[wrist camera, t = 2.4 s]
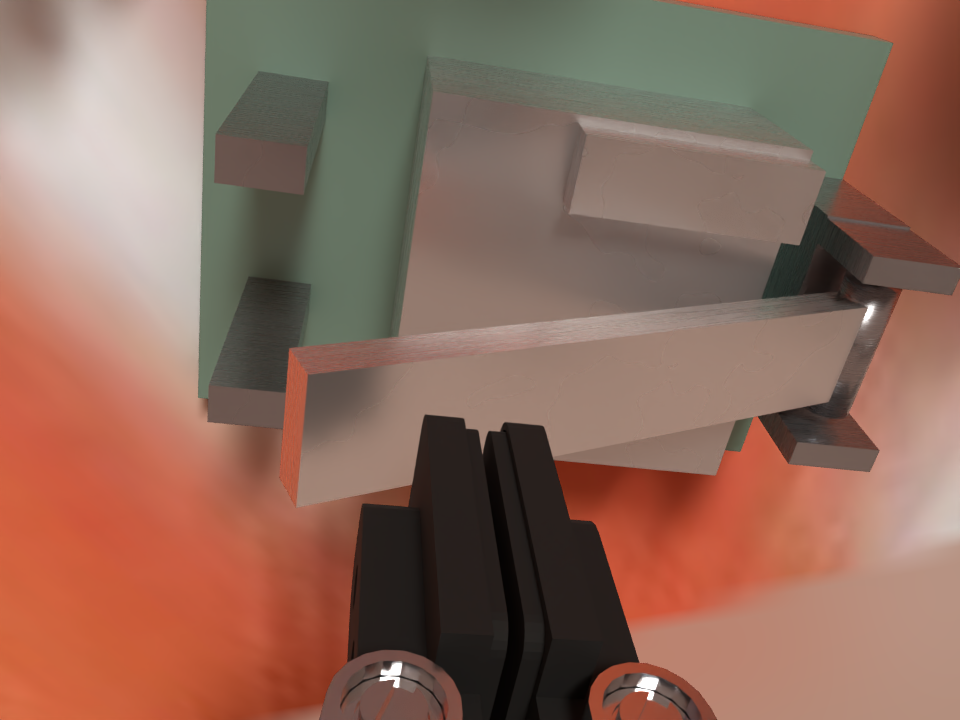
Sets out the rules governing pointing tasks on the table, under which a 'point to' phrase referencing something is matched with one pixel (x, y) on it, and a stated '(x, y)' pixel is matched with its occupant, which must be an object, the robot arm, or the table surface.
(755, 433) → the table surface
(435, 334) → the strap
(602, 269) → the grey block frame
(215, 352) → the board
